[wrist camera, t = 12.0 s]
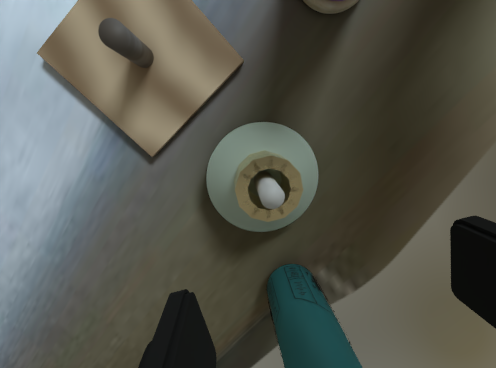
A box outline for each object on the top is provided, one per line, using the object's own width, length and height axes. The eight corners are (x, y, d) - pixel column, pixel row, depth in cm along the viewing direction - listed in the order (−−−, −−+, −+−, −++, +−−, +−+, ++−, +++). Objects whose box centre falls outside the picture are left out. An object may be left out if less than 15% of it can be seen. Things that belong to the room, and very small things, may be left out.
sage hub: (262, 98, 25) (277, 85, 17) (329, 174, 28) (372, 196, 19) (187, 174, 27) (166, 198, 18) (258, 239, 30) (268, 286, 21)
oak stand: (136, -60, 21) (92, -146, 14) (243, 62, 24) (247, 39, 18) (45, 55, 23) (-34, 27, 16) (155, 155, 26) (128, 166, 19)
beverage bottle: (254, 283, 31) (289, 540, 12) (283, 246, 30) (375, 463, 11) (292, 304, 33) (379, 568, 13) (321, 269, 31) (463, 502, 12)
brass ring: (285, 144, 24) (295, 148, 20) (296, 198, 25) (307, 211, 21) (228, 159, 24) (228, 166, 20) (243, 212, 25) (245, 228, 21)
